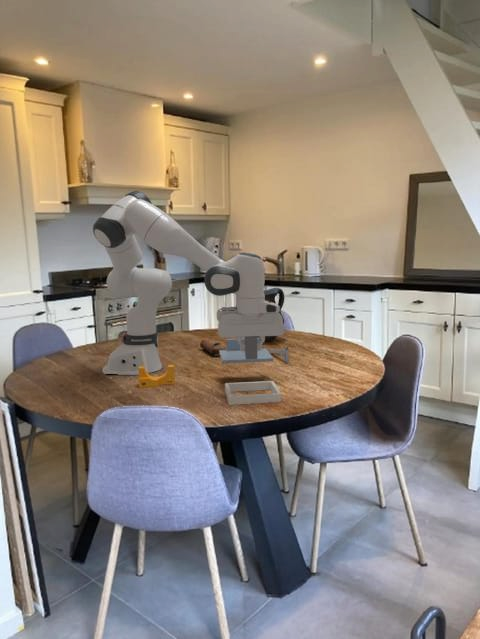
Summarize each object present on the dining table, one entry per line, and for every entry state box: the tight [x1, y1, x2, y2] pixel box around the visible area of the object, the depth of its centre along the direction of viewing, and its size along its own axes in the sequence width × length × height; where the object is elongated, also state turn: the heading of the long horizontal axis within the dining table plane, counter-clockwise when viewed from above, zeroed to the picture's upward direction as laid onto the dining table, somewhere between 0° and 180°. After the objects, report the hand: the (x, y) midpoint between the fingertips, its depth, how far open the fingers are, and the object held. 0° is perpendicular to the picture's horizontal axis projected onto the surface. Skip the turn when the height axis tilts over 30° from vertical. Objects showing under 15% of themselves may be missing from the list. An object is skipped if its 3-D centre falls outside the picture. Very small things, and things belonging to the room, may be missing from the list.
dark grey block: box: [244, 336, 257, 359], centre depth 159 cm, size 4×4×7 cm
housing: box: [224, 380, 282, 406], centre depth 162 cm, size 16×14×3 cm
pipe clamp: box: [138, 364, 176, 388], centre depth 177 cm, size 12×4×6 cm, turn 98°
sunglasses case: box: [199, 339, 226, 357], centre depth 225 cm, size 18×7×7 cm
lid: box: [219, 337, 274, 364], centre depth 177 cm, size 17×15×5 cm
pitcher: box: [257, 287, 285, 343], centre depth 245 cm, size 21×22×25 cm
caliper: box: [268, 346, 290, 364], centre depth 211 cm, size 20×1×6 cm, turn 17°
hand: (250, 350), depth 160 cm, fingers closed on dark grey block, 3 cm apart
